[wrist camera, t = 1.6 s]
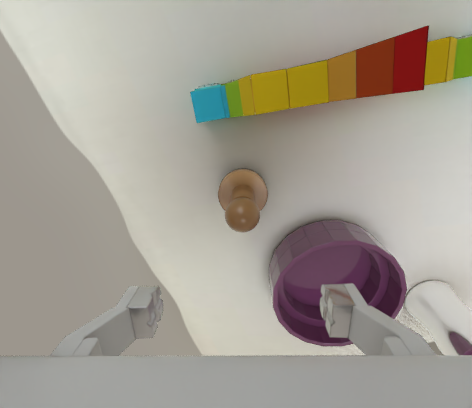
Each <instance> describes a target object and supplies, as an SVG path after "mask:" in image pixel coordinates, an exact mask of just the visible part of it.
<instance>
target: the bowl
mask: <svg viewBox="0 0 472 408" xmlns="http://www.w3.org/2000/svg"><path fill="white" fill-rule="evenodd" d="M269 282H270V289H271V296H272V303H273V308H274V310H275V313H276V315H277V318H278V320H279V322H280V323H281V324H282V325H283V326H284V328H285V329H286V330H287V331H288V332H289V333H290V334H292V335H293V336H295V337H297V338H299V339H301V340H302V341H304V342H307V343H312V344H316V345H320V346H345V345H350V344H354V343H353V342H352V341H350V340H349V339H348V338H337V337H330V336H329V334H328V331H327V329H326V326H325V325H326V321H325V320H324V319H323V318H322V315H321V312H320V298H321V297H322V293H321V286H322V284H348V283H353V284H354V285H355V286H356V288H357V289H358V291H359V292H360V294H361V295H362V297H363V299H364V300H365V302H366V303H367V305H368V306H373V307H374V308H376V309H378V310H379V311H381V312H383V313H384V314H386V315H388V316H389V317H391V318H393V319H395V317H396V316H397V314H398V312H399V311H400V309H401V308H402V306H403V303H404V299H405V295H406V291H407V287H406V281H405V275H404V271H403V270H402V268H401V267H400V265H399V264H398V262H397V261H396V259H395V258H394V257H393V256H392V255H391V254H390V253H389V252H388V251H387V250H386V249H385V248H384V247H383V246H382V245H381V244H380V243H379V242H378V241H377V240H376V239H375V238H374V237H373V236H372V235H371V234H370V233H369V232H367V231H366V230H364V229H363V228H361V227H360V226H358V225H355V224H352V223H348V222H345V221H341V220H331V221H318V222H315V223H311V224H308V225H305V226H302V227H300V228H299V229H297V230H296V231H294V232H293V233H291V234H290V235H288V236H287V237H286V238H285V239H284V240H283V241H282V242H281V244H280V245H279V246H278V247H277V248H276V250H275V252H274V254H273V257H272V259H271V262H270V265H269Z"/></svg>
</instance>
